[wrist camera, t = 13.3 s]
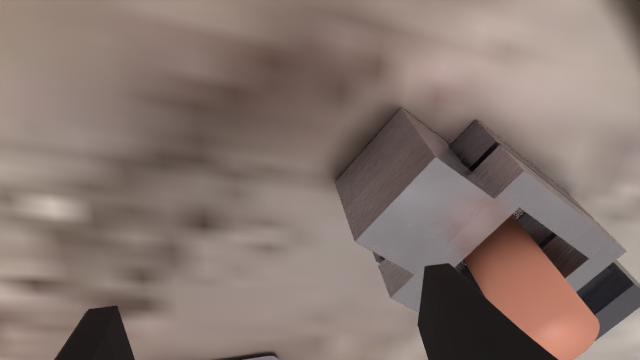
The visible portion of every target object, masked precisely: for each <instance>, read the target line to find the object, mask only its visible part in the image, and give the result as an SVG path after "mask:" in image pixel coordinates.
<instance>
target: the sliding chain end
mask: <svg viewBox="0 0 640 360" xmlns="http://www.w3.org/2000/svg"><path fill="white" fill-rule="evenodd" d="M335 185H336V188H337V191H338V194H339V197H340V199H341V202H342V205H343V208H344V211H345V214H346V217H347V220H348V223H349V226H350V229H351V232H352V235H353V238H354V241H355V242H357V243H358V244H360V245H362V246H364V247H366V248H367V249H369V250H371V251H373V252H375V253H377V254H378V255H380V256H382V257H384V258H386V259H385V260H384V261H383V262H382V263H381V264H380V265H379V269H380V272H381V274H382V277H383V280H384V282H385V285H386V288H387V290H388V293H389V296H390V298H391V299H393V300H395V301H397V302H399V303H401V304H403V305H405V306H407V307H409V308H411V309H413V310H415V311H417V312H419V309H420V301H421V292H422V284H423V275H424V267H425V266H429V265H437V264H444V263H449V264H451V265H452V266H453V267H454V268H455V267H456V266H457V265H458V264H459V263H460V262H461V261H462V260H463V259H464V258H465V257H466V256H467V255H469V254H470V253H471V252H472V251H473V250H474V249H475V248H476V247H477V246H478V245H479V244H480V243H482V242H483V241H484V240H485V239H486V238H487V237H488V236H489V235H490V234H491V233H492V232H493V231H495V230H496V229H497V228H498V227H499V226H500V225H501V224H502V223H503V222H504V221H505V220H506V219H507V218H509V217H510V216H511V215H512V214H513V213H514V212H515V211H516V210H517V209H518V208H521V209H522V210H524V211H525V212H526V213H528V214H529V215H530V216H532V217H533V218H534V219H536V220H537V221H539V222H540V223H541V224H543V225H544V226H545V227H547V228H548V229H550V230H551V231H552V232H554V233H555V234H556V235H557V236H556V237H555V238H554V239H553V240H551V241H550V242H549V243H548V244H547V245H546V246H545V247H543V248H542V249H541V250H542V251H543V252H544V253H545V255H546V256H547V257H548V258H549V260H550V261H551V262H552V263H553V265H554V266H555V267H556V268H557V270H558V271H559V272H560V273H561V274H562V276H563V277H564V278H565V279H566V281H567V282H568V283H569V284H570V286H571V287H572V288H573V289H574V291H575V292H577V291H578V290H579V289H580V288H582V287H583V286H584V285H585V284H587V283H588V282H589V281H590V280H592V279H593V278H594V277H595V276H596V275H598V274H599V273H600V272H601V271H603V270H604V269H605V268H606V267H608V266H609V265H610V264H611V263H612V262H614V261H615V260H616V259H617V258H619V257H620V256H621V255H622V254H624V253H625V252H626V250H625V249H624V248H623V247H622V246H621V245H620V244H619V243H618V242H617V241H616V240H615V239H614V238H613V237H612V236H611V235H610V234H609V233H608V232H607V231H606V230H605V229H604V228H603V227H602V226H601V225H600V224H599V223H597V222H596V221H595V220H594V219H592V218H591V217H590V216H589V215H587V214H586V213H585V212H584V211H582V210H581V209H580V208H579V207H577V206H576V205H575V204H574V203H572V202H571V201H570V200H569V199H567V198H566V197H565V196H563V195H562V194H561V193H560V192H558V191H557V190H556V189H555V188H553V187H552V186H551V185H550V184H548V183H547V182H546V181H545V180H543V179H542V178H541V177H540V176H538V175H537V174H536V173H535V172H533V171H532V170H531V169H530V168H528V167H527V166H526V165H525V164H523V163H522V162H521V161H520V160H518V159H517V158H516V157H515V156H513V155H512V154H511V153H510V152H508V151H507V150H506V149H505V148H503V147H502V146H501V145H499V146H498V147H497V148H496V149H495V150H494V151H493V152H492V153H491V154H490V155H489V156H488V157H487V158H486V159H485V160H484V161H483V162H482V163H481V164H480V165H479V166H478V167H477V168H476V169H475V170H474V171H471V170H470V169H469V168H467V167H466V166H465V165H463V163H462V162H461V161H460V160H459V158H458V157H457V156H456V154H455V153H454V152H453V150H452V149H451V148H450V147H449V145H448V144H447V143H446V141H445V140H444V139H443V138H441V137H440V136H439V135H437V134H436V133H435V132H433V131H432V130H431V129H429V128H428V127H427V126H425V125H424V124H423V123H421V122H420V121H418V120H417V119H416V118H414V117H413V116H412V115H410V114H409V113H408V112H406V111H405V110H404V109H402V108H400V110H399V111H398V112H397V113H396V114H395V115H394V116H393V117H392V119H391V120H390V121H389V122H388V123H387V124H386V125H385V126H384V128H383V129H382V130H381V131H380V132H379V133H378V134H377V136H376V137H375V138H374V139H373V140H372V141H371V142H370V143H369V145H368V146H367V147H366V148H365V149H364V150H363V151H362V152H361V154H360V155H359V156H358V157H357V158H356V159H355V160H354V161H353V163H352V164H351V165H350V166H349V167H348V168H347V169H346V170H345V172H344V173H343V174H342V175H341V176H340V177H339V178H338V180H337V181H336V182H335Z"/></svg>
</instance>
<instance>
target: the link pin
mask: <svg viewBox="0 0 640 360" xmlns="http://www.w3.org/2000/svg"><path fill="white" fill-rule="evenodd" d="M463 260H464V262H465V264H466V265H467V267H468V269H469V270H470V272H471V274H472V275H473V277H474V279H475V280H476V282H477V284H478V286H479V287H480V289H481V291H482V292H483V294H484V296H485V297H486V298H487V299H488V300H489V301H490V302H491V303H492V304H493V305H494V306H495V307H496V308H497V309H498V310H500V311H501V312H502V313H503V314H504V315H505V316H506V317H508V318H509V319H510V320H511V321H512V322H513V323H514V324H516V325H517V326H518V327H519V328H520V329H521V330H522V331H524V332H525V333H526V334H527V335H528V336H530V337H531V338H532V339H533V340H534V341H536V342H537V343H538V344H539V345H541V346H542V347H543V348H544V349H546V350H547V351H548V352H549V353H551V354H552V355H553V356H554V357H556V358H557V359H558V360H573V359H575V358H576V357H578V356H579V355H581V354H582V353H583V352H585V351H586V350H587V349H588V348H589V347H590V346H591V345H592V344H593V342H594V341H595V339H596V338H597V336H598V333H599V329H600V325H599V321H598V319H597V318H596V317H595V315H594V314H593V313H592V312H591V310H590V309H589V308H588V307H587V305H586V304H585V303H584V302H583V300H582V299H581V298H580V297H579V296H578V294H577V293H576V292H575V291H574V289H573V288H572V287H571V286H570V284H569V283H568V282H567V281H566V279H565V278H564V277H563V276H562V274H561V273H560V272H559V271H558V270H557V268H556V267H555V266H554V265H553V263H552V262H551V261H550V260H549V258H548V257H547V256H546V255H545V253H544V252H543V251H542V250H541V248H540V247H539V246H538V245H537V244H536V242H535V241H534V240H533V239H532V237H531V236H530V235H529V234H528V232H527V231H526V230H525V229H524V227H523V226H522V225H521V224H520V222H519V221H518V220H517V219H516V218H515V216H514V215H513V214H512V215H511V216H510V217H509V218H507V219H506V220H505V221H504V222H503V223H502V224H501V225H500V226H499V227H498V228H497V229H496V230H495V231H493V232H492V233H491V234H490V235H489V236H488V237H487V238H486V239H485V240H484V241H483V242H482V243H480V244H479V245H478V246H477V247H476V248H475V249H474V250H473V251H472V252H471V253H470V254H469V255H467V256H466V257H465V258H464V259H463Z"/></svg>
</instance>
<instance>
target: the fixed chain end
mask: <svg viewBox="0 0 640 360" xmlns="http://www.w3.org/2000/svg"><path fill="white" fill-rule="evenodd" d="M499 145H501V146H502V147H503V148H505V149H506V150H507V151H508V152H510V153H511V154H512V155H513V156H515V157H516V158H517V159H518V160H520V161H521V162H522V163H523V164H525V165H526V166H527V167H528V168H530V169H531V170H532V171H533V172H535V173H536V174H537V175H538V176H540V177H541V178H542V179H543V180H545V181H546V182H547V183H548V184H550V185H551V186H552V187H553V188H555V189H556V190H557V191H558V192H560V193H561V194H562V195H563V196H565V197H566V198H567V199H569V200H570V201H571V202H572V203H574V204H575V205H576V206H577V207H579V208H580V209H581V210H582V211H584V212H585V213H586V214H587V215H589V214H588V213H587V212H586V211H585V210H584V209H583V208H582V207H581V206H580V205H579V204H578V203H577V202H576V201H575V200H574V199H573V198H572V197H571V196H570V195H569V194H568V193H567V192H565V191H564V190H563V189H562V188H560V187H559V186H558V185H557V184H555V183H554V182H553V181H552V180H550V179H549V178H548V177H547V176H545V175H544V174H543V173H542V172H540V171H539V170H538V169H537V168H536V167H534V166H533V165H532V164H531V163H529V162H528V161H527V160H526V159H524V158H523V157H522V156H521V155H519V154H518V153H517V152H516V151H514V150H513V149H512V148H511V147H509V146H508V145H507V144H506V143H505V142H503V141H502V140H501V139H500V138H498V137H497V136H496V135H495V134H493V133H492V132H491V131H490V130H488V129H487V128H486V127H485V126H483V125H482V124H481V123H480V122H478V121H477V120H475V121H474V122H473V123H472V124H471V125H470V126H469V127H468V128H467V129H466V130H465V131H464V132H463V133H462V135H461V136H460V137H459V138H458V139H457V140H456V141H455V142H454V143H453V144H452V145H451V146H450V148H451V149H452V150H453V152H454V153H455V154H456V156H457V157H458V158H459V160H460V161H461V162H462V163H463V165H465V166H466V167H467V168H469V169H470V170H471V171H474V170H475V169H476V168H477V167H478V166H479V165H480V164H481V163H482V162H483V161H484V160H485V159H486V158H487V157H488V156H489V155H490V154H491V153H492V152H493V151H494V150H495V149H496V148H497V147H498V146H499ZM589 216H590V215H589ZM590 217H591V216H590ZM591 218H592V217H591ZM592 219H593V218H592ZM518 221H519V222H520V224H521V225H522V226H523V227H524V229H525V230H526V231H527V232H528V234H529V235H530V236H531V237H532V239H533V240H534V241H535V242H536V244H537V245H538V246H539V247H540V248H541V249H542V248H543V247H545V246H546V245H547V244H548V243H549V242H550V241H551V240H553V239H554V238H555V237H556V236H557V235H556V234H555V233H554V232H552V231H551V230H550V229H548V228H547V227H545V226H544V225H543V224H541V223H540V222H539V221H537V220H536V219H534V218H533V217H532V216H530V215H529V214H528V213H525V214H524V215H523V216H521V217H520V218H519V219H518ZM373 254H374V256H375V259H376V261H377V262H379V263H380V264H381V263H382V262H383V261H384V260H385V259H386V258H384V257H382V256H380V255H378V254H377V253H375V252H373ZM455 269H456V270H457V271H458V272H459V273H460V274H461V275H462V276H463V277H464V278H465V279H466V280H468V281H469V282H470V283H471V284H472V285H473V286H474V287H475V288H476V289H477V290H478V291H479V292H480V293H481V294H482V295H483V296H484V294H483V292H482V291H481V289H480V287H479V286H478V284H477V282H476V280H475V279H474V277H473V275H472V274H471V272H470V270H469V269H468V267H465V266H463V265H462V264H460V263H459V264H458V265H457V266H456V267H455ZM576 293H577V294H578V296H579V297H580V298H581V299H582V300H583V302H584V303H585V304H586V305H587V307H588V308H589V309H590V310H591V312H592V313H593V314H594V315H595V317H596V318H597V319H598V321H599V325H600V329H599V333H598V336H597V338H596V339H595V341H596V340H597V339H598V338H600V337H601V336H602V335H603V334H605V333H606V332H607V331H609V330H610V329H611V328H613V327H614V326H615V325H617V324H618V323H619V322H621V321H622V320H623V319H625V318H626V317H627V316H629V315H630V314H631V313H632V312H634V311H635V310H636V309H638V308H639V307H640V284H639V283H638V282H637V281H636V280H635V279H634V278H633V277H632V276H631V274H630V273H629V272H628V271H627V270H626V269H625V268H624V267H623V266H622V265H621V264H620V263H619V262H618V261H617V260H615V261H614V262H612V263H611V264H610V265H609V266H608V267H606V268H605V269H604V270H603V271H601V272H600V273H599V274H598V275H596V276H595V277H594V278H593V279H592V280H590V281H589V282H588V283H587V284H585V285H584V286H583V287H582V288H580V289H579V290H578V291H577V292H576ZM484 297H485V296H484ZM485 298H486V297H485Z"/></svg>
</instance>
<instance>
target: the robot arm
mask: <svg viewBox="0 0 640 360" xmlns="http://www.w3.org/2000/svg"><path fill="white" fill-rule="evenodd" d="M418 327H419V331H420V334H421V337H422V341H423V344H424V347H425V350H426V353H427V357H428V360H558V359H557V358H556V357H554V356H553V355H552V354H551V353H549V352H548V351H547V350H546V349H544V348H543V347H542V346H541V345H539V344H538V343H537V342H536V341H534V340H533V339H532V338H531V337H530V336H528V335H527V334H526V333H525V332H524V331H522V330H521V329H520V328H519V327H518V326H517V325H516V324H514V323H513V322H512V321H511V320H510V319H509V318H508V317H506V316H505V315H504V314H503V313H502V312H501V311H500V310H498V309H497V308H496V307H495V306H494V305H493V304H492V303H491V302H490V301H489V300H488V299H487V298H485V297H484V296H483V295H482V294H481V293H480V292H479V291H478V290H477V289H476V288H475V287H474V286H473V285H472V284H471V283H470V282H469V281H468V280H466V279H465V278H464V277H463V276H462V275H461V274H460V273H459V272H458V271H457V270H456V269H455V268H454V267H453V266H452V265H451V264H449V263H444V264H437V265H429V266H425V267H424V275H423V284H422V292H421V301H420V309H419V318H418ZM54 360H135V359H134V356H133V353H132V350H131V347H130V344H129V341H128V338H127V335H126V331H125V328H124V325H123V322H122V319H121V316H120V313H119V310H118V307H117V306H111V307H103V308H95V309H89V310H88V311H87V312H86V313H85V314H84V316H83V317H82V319H81V320H80V322H79V323H78V325H77V327H76V328H75V330H74V331H73V333H72V334H71V336H70V337H69V339H68V340H67V342H66V343H65V345H64V346H63V348H62V349H61V351H60V352H59V353H58V355H57V356H56V358H55V359H54ZM244 360H278V358H277V357H275V356H265V357H258V358H251V359H244Z"/></svg>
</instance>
